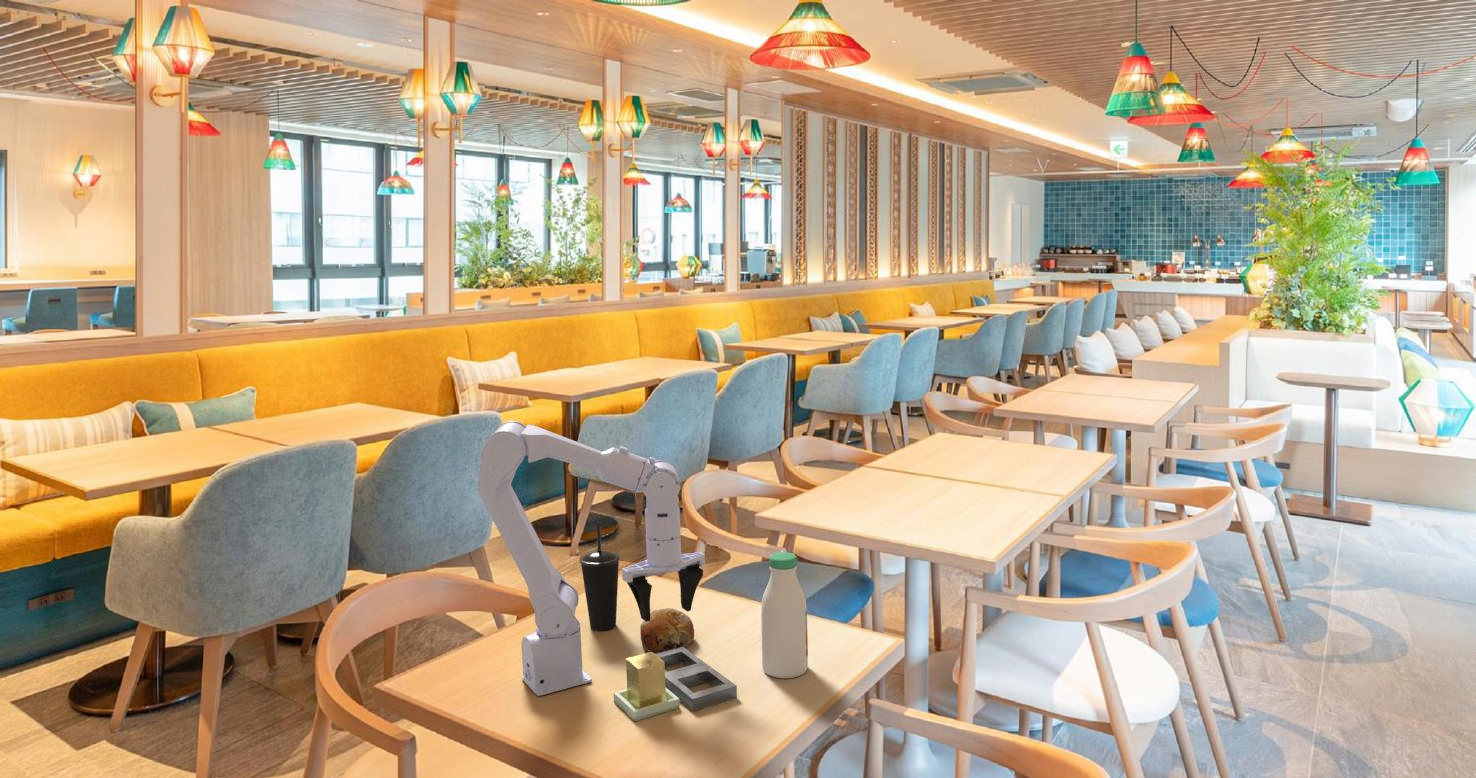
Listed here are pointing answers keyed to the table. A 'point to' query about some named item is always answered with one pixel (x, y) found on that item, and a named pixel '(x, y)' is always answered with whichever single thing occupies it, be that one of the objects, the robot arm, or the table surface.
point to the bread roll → (666, 630)
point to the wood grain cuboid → (645, 680)
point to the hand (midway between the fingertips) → (666, 614)
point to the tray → (645, 712)
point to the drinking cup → (601, 585)
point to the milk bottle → (784, 620)
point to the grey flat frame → (695, 680)
